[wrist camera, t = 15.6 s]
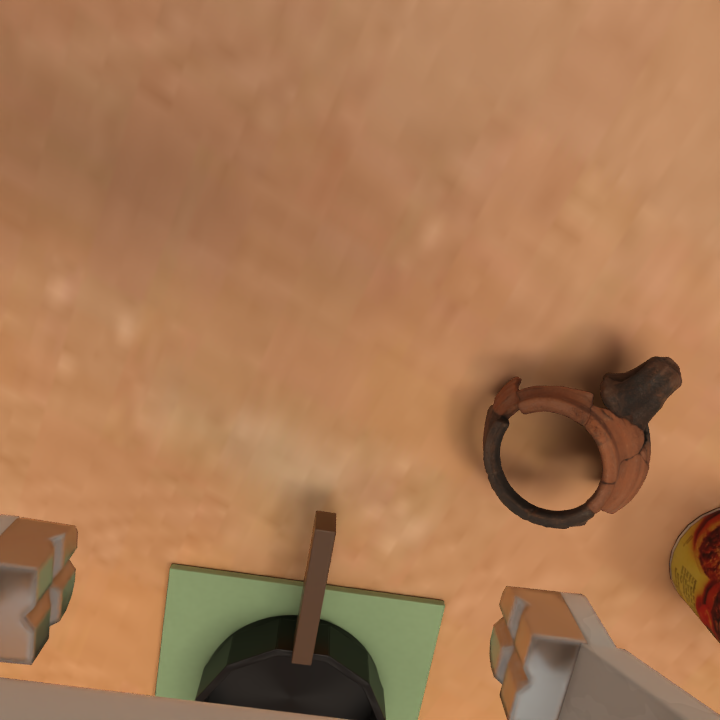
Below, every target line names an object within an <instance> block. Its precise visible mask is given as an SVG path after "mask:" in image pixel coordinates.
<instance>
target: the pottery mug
mask: <svg viewBox="0 0 720 720" xmlns="http://www.w3.org/2000/svg"><path fill="white" fill-rule="evenodd" d="M520 383H521V379H520V378H519V377H514V378H513V379H512V380H510V381H509V382H508V383H507V384H506V385H505V386H504V387H503V388H502V389H501V390H500V392H499V393H498V394H497V396H496V397H495V400H494V404H493V405H491V406H490V408H489V409H488V412H487V417H486V421H485V427H484V436H483V450H484V457H483V460H484V465H485V469H486V472H487V474H488V479H489V481H490V484H491V487H492V489H493V490H494V491H495V493H496V495H497V496H498V497H499V499H500V500H501V502H502V503H503V504H504V505H505V506H506V507H508V508H509V510H511V511H512V512H513V513H514V514H516V515H518V516H519V517H521V518H522V519H524V520H528V521H530V522H532V523H534V524H538V525H542V526H544V527H551V528H559V529H567V528H569V527H573V526H582V525H585V524H586V522H587V521H588V520H589V519H591V518H592V517H593V516H594V514H595V513H597V512H599V511H600V510H602V511H605V512H607V513H610V514H614V513H615V512H617V511H618V510H620V509H621V508H622V507H624V506H625V505H626V504H627V503H629V502H630V501H631V500H632V499H633V497H634V496H635V495H636V494H637V492H638V491H639V489H640V488H641V486H642V484H643V482H644V480H645V478H646V476H647V473H648V470H649V462H650V454H651V442H650V433H649V427H648V423H649V421H650V420H651V419H652V417H653V416H654V415H655V414H656V413H657V412H658V411H659V410H660V409H661V407H662V406H663V404H664V402H665V401H666V399H667V398H668V397H669V396H670V395H671V394H672V393H673V392H674V391H675V390H676V389H678V388H679V387H680V386H681V384H682V378H681V373H680V368H679V366H678V365H677V364H676V363H675V362H674V361H673V360H672V359H671V358H669V357H652V358H650V359H649V360H647V361H646V362H644V363H642V364H641V365H639V366H638V367H636V368H634V369H633V370H631V371H628V372H626V373H616V374H615V373H606V374H604V376H603V381H602V382H601V385H600V391H601V392H600V395H601V398H602V401H603V403H604V405H605V406H606V407H607V408H608V409H605V408H599V407H596V406H594V405H593V396H594V395H593V394H592V393H590V392H587V391H582V390H578V389H571V388H568V387H564V386H533V387H528V388H524V389H521V390H519V385H520ZM518 410H520V411H521V412H522V413H523V414H529V413H533V412H542V411H548V412H554V413H558V414H562V415H564V416H567V417H568V418H571V419H572V420H574V421H576V422H577V423H579V424H580V425H582V426H584V427H585V429H586V430H587V431H588V432H589V433H590V435H591V436H592V438H593V439H594V441H595V443H596V445H597V447H598V449H599V452H600V455H601V459H602V476H601V481H600V483H599V486H598V488H597V490H596V491H595V493H594V494H593V495H592V496H591V497H590V498H589V499H588V500H587V501H586V503H584V504H583V505H581V506H579V507H577V508H574V509H570V510H564V511H552V510H546V509H542V508H539V507H537V506H535V505H533V504H531V503H529V502H527V501H526V500H525V499H523V498H522V497H521V496H520V495H519V494H517V493H516V492H515V491H514V489H513V488H512V487H511V486H510V484H509V483H508V481H507V479H506V477H505V475H504V472H503V470H502V467H501V460H500V446H501V442H502V438H503V435H504V433H505V431H506V430H507V428H508V426H509V420H508V419H509V418H510V417H511V416H512V415H514V414H515V413H516V412H517V411H518Z"/></svg>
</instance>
